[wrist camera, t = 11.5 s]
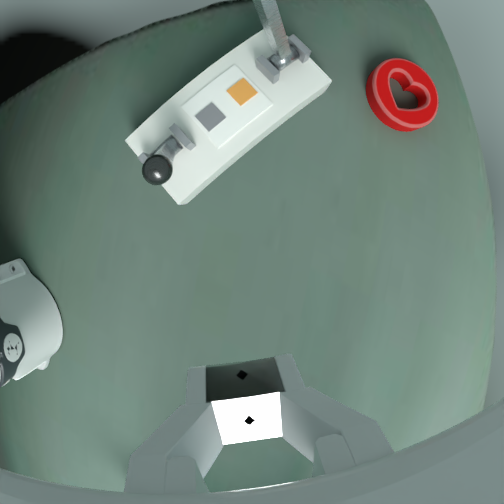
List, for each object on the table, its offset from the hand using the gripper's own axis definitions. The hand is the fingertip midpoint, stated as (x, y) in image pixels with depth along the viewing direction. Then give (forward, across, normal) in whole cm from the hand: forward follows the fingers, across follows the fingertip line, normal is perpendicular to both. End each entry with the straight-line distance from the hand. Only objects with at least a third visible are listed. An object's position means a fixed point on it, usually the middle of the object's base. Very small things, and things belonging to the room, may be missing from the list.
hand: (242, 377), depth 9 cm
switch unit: (+31, -2, -11) cm, 33 cm away
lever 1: (+26, +5, -7) cm, 28 cm away
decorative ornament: (+29, -25, -13) cm, 40 cm away
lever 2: (+26, -8, -16) cm, 32 cm away
